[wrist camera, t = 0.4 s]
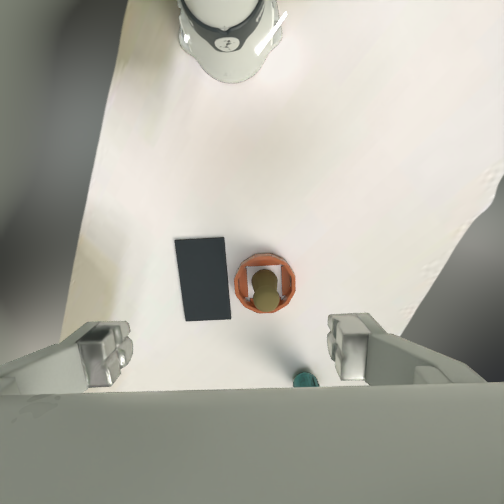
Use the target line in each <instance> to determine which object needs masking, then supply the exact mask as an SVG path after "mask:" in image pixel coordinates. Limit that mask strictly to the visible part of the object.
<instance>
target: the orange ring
mask: <svg viewBox="0 0 504 504" xmlns="http://www.w3.org/2000/svg"><path fill="white" fill-rule="evenodd" d="M280 264H282V265H284V266H281V271H282V296H285V295H286V296H285V297H284V299H282V300H281V297H280V300H279V304H278V306H277V307H276V309H274V310H273V311H270V312H263V311H260V310H259V309H257V308H256V306H255V305H254V302H253V298H250V301H248V300H246V298H245V297H248V284H247V269H246V268H245V267H246V266H266V265H280ZM290 282H291V287H290ZM234 285H235V294H236V296H237V298H238V299H239V300H240V302H241V303H242V304H243V306H245V307H246V308H248V309H250V310H252V311H254V312H256V313H274V312H276V311H278V310H280V309H281V308H283V307H285V306H286V305H287V304H289V302H290V300H291V298H292V297H293V295H294V293H295V291H296V289H295V275H294V272H293V271H292V269H291V268H290V266H289V265H288V263H287V262H286V261H285V260H284V259H282V258H280V257H278V256H276V255H274V254H271V253H264V254H254V255H253V256H251V257H250V258H248V259H246V260H245V261H243V262H242V263H241V265H240V267H239V268H238V271H237V273H236V275H235V278H234ZM239 287H240V290H239Z"/></svg>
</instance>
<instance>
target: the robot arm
mask: <svg viewBox="0 0 504 504" xmlns="http://www.w3.org/2000/svg"><path fill="white" fill-rule="evenodd" d="M177 3H178V7H179V8H181V15H180V16H179V21H180V35H179V42H180V45H181V47H182V49H183V50H184V51H186V52H187V53H188V54H190V55H191V56H193V57H194V58H195V59H196V60H197V61H198V63H199V64H200V66H201V67H202V68H203V70H204V71H205V72H206V73H207V74H208V75H210V76H211V77H212V78H214V79H216V80H218V81H221V82H224V83H239V82H242V81H245V80H247V79H249V78H250V77H252V76H253V75H254V74H255V73H257V71H258V70H259V69H260V68H261V66H262V65H263V63H264V61H265V60H266V58H267V56H268V54H269V52H270V51H271V50H272V49H274V48H275V47H276V46H277V45H278V44H279V43H280V41H281V40H282V28H281V23H282V21H283V20H284V18H285V17H286V15H287V13H286V12H285V13H284V15H283V16H282V17H281V19H280V18H279V13H278V7H277V2H276V0H177ZM274 26H275V27H274ZM273 27H274V29H273ZM328 327H329V329H330V332H329V333H328V335H327V345H328V351H329V355H330V357H331V359H332V360H333V361H335V368H336V371H337V373H338V375H339V377H340V379H341V380H365V382H366V383H368V384H369V385H370V386H334V387H296V388H258V389H219V390H180V391H142V392H103V393H83V392H84V391H86V390H87V389H88V388H92V387H110V386H112V385H113V383H114V382H115V381H116V379H117V378H118V377H119V375H120V374H121V371H120V369H121V368H123V367H125V366H126V365H127V364H128V363H129V361H130V360H131V357H132V354H133V342H132V340H131V339H130V338H129V337H128V335H129V333H130V327H129V323H128V322H127V321H95V322H87V323H85V324H84V325H83V326H81V327H80V328H79V329H78V330H76V331H75V332H74V333H72V334H71V335H70V336H69V337H67V338H66V339H65V340H63V341H62V342H61V343H59V344H54V345H51V346H49V347H46V348H44V349H41V350H38V351H36V352H33V353H31V354H28V355H26V356H23V357H21V358H18V359H16V360H13V361H11V362H8V363H5V364H3V365H0V504H504V382H492V383H488V382H486V381H485V380H484V379H483V378H482V377H481V376H479V375H478V374H477V373H476V372H475V371H473V370H472V369H471V368H470V367H468V366H467V365H466V364H464V363H462V362H459V361H457V360H454V359H452V358H450V357H447V356H445V355H442V354H440V353H438V352H435V351H433V350H430V349H428V348H426V347H423V346H421V345H418V344H416V343H413V342H411V341H408V340H406V339H404V338H401V337H399V336H396V335H394V334H388V333H387V332H386V331H385V330H384V329H383V328H382V327H381V326H380V325H379V324H378V323H377V322H376V321H375V319H374V318H373V317H372V316H371V315H370V314H369V313H348V314H331V315H329V316H328Z"/></svg>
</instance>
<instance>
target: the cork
mask: <svg viewBox="0 0 504 504" xmlns="http://www.w3.org/2000/svg"><path fill="white" fill-rule="evenodd" d="M277 281H278V280H277V277H276V275H275V274H274V273H273V272H272V271H270V270H265V269H263V270H259V271H258V272H256V273H255V274H254V275H253V278H252V286H253V289H254V292H255V293H254V295H253V302H254V305H255V306H256V308H257V309H259V310H260V311H263V312H270V311H273V310H274V309H276V307H277V306H278V304H279V300H280V297H279V294H278V292H277Z"/></svg>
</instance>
